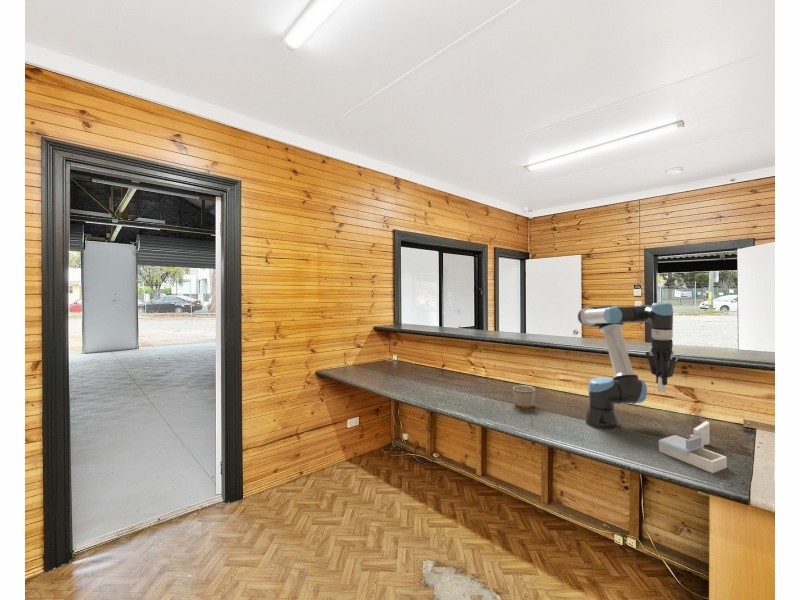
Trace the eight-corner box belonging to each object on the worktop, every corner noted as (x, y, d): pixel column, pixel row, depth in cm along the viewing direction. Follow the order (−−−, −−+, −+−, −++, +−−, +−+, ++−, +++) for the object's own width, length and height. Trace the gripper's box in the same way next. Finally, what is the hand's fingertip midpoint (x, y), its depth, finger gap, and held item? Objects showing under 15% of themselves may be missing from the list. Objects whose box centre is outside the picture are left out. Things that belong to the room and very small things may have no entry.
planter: (513, 408, 218) (512, 391, 217) (513, 401, 230) (513, 384, 229) (535, 409, 214) (535, 392, 213) (535, 402, 226) (534, 385, 225)
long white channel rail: (659, 451, 160) (659, 441, 159) (672, 446, 163) (672, 437, 163) (712, 473, 141) (712, 462, 141) (726, 467, 144) (726, 456, 144)
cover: (658, 445, 158) (658, 431, 158) (675, 439, 163) (675, 426, 162) (686, 456, 148) (686, 442, 148) (704, 449, 152) (704, 436, 152)
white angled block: (718, 438, 163) (709, 422, 163) (699, 450, 163) (690, 434, 163) (711, 434, 167) (702, 419, 166) (693, 446, 167) (683, 431, 166)
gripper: (641, 337, 164) (641, 388, 166) (672, 341, 152) (671, 397, 154) (652, 335, 167) (652, 385, 169) (683, 339, 155) (683, 394, 157)
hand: (661, 391), depth 161 cm, fingers closed
